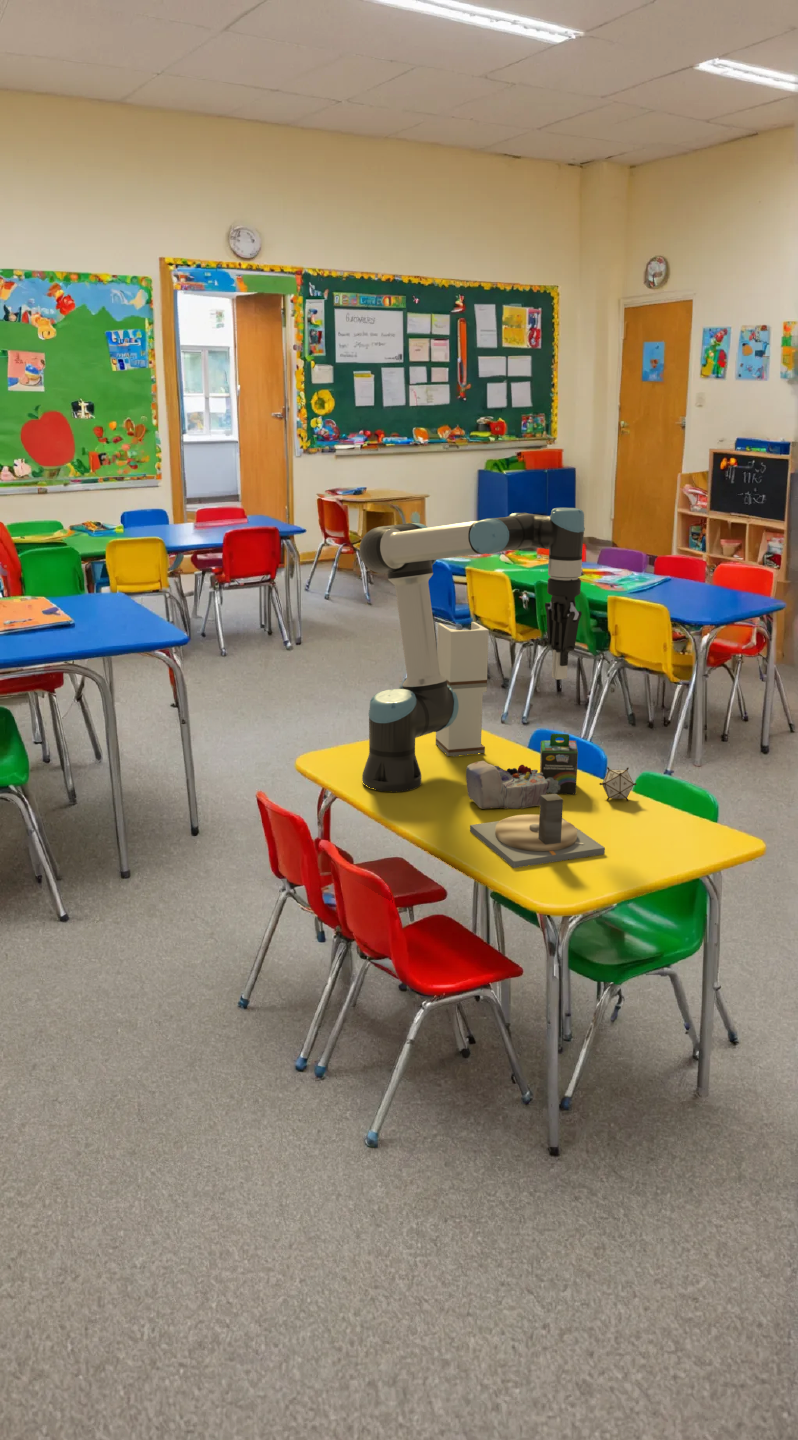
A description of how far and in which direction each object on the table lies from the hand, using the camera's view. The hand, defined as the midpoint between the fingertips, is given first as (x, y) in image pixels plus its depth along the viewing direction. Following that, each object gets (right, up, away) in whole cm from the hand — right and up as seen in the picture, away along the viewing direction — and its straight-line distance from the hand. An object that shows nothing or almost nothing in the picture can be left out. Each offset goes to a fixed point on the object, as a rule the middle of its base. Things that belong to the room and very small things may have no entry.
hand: (559, 677), depth 261 cm
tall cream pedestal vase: (-20, -18, +53) cm, 60 cm away
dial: (-7, -35, -12) cm, 38 cm away
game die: (+16, -30, +15) cm, 37 cm away
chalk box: (+3, -27, +23) cm, 36 cm away
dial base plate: (-7, -37, -12) cm, 40 cm away
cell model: (-11, -30, +12) cm, 35 cm away
